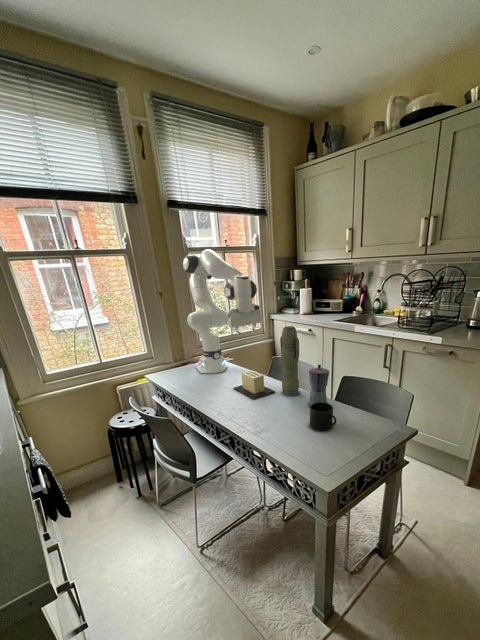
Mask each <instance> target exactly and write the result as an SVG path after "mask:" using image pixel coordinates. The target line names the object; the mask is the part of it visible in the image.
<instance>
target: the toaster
mask: <svg viewBox="0 0 480 640" xmlns="http://www.w3.org/2000/svg"><path fill="white" fill-rule="evenodd" d="M264 377H265V376H264V374H261V373H259V372H257V371H255V370H252V369H250V370H246V371H243V372H241V382H242V383H241V385H243V388H244V389H246V390H248V391H250V392H252V393H254V394H257V393H260V392H263V391H264V387H265V378H264Z"/></svg>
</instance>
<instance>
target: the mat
mask: <svg viewBox="0 0 480 640" xmlns="http://www.w3.org/2000/svg"><path fill="white" fill-rule="evenodd" d="M233 390H234V391H237V392H238V393H240V394H242V395H244V396H245V397H247V398H249V399H252V400H253V401H254V400H257V399H260V398H263V397H266V396H270V395H272V394H274V393H276V392H275V390H273V389H272V388H269V387H267V386H264V391H263V392H260V393H257V394H254V393H252V392H250V391H248V390H246V389H244V388H243V385H242V384H241V385H238V386H234V387H233Z"/></svg>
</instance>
